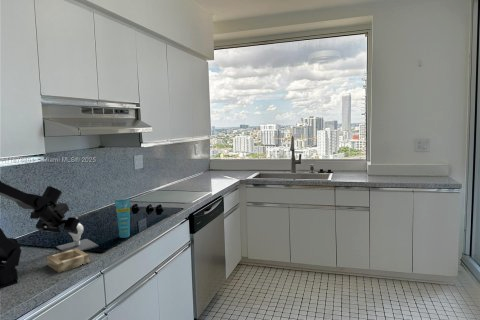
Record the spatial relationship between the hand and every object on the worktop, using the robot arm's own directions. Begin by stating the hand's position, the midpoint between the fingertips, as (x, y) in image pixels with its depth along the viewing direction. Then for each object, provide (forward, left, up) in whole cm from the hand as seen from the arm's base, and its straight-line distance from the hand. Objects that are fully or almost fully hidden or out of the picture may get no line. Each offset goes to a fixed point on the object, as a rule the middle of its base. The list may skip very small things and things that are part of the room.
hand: (68, 232), depth 156 cm
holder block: (-6, -16, -8) cm, 19 cm away
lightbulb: (+4, +2, -8) cm, 9 cm away
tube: (+26, -1, -9) cm, 27 cm away
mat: (+4, +2, -8) cm, 10 cm away
